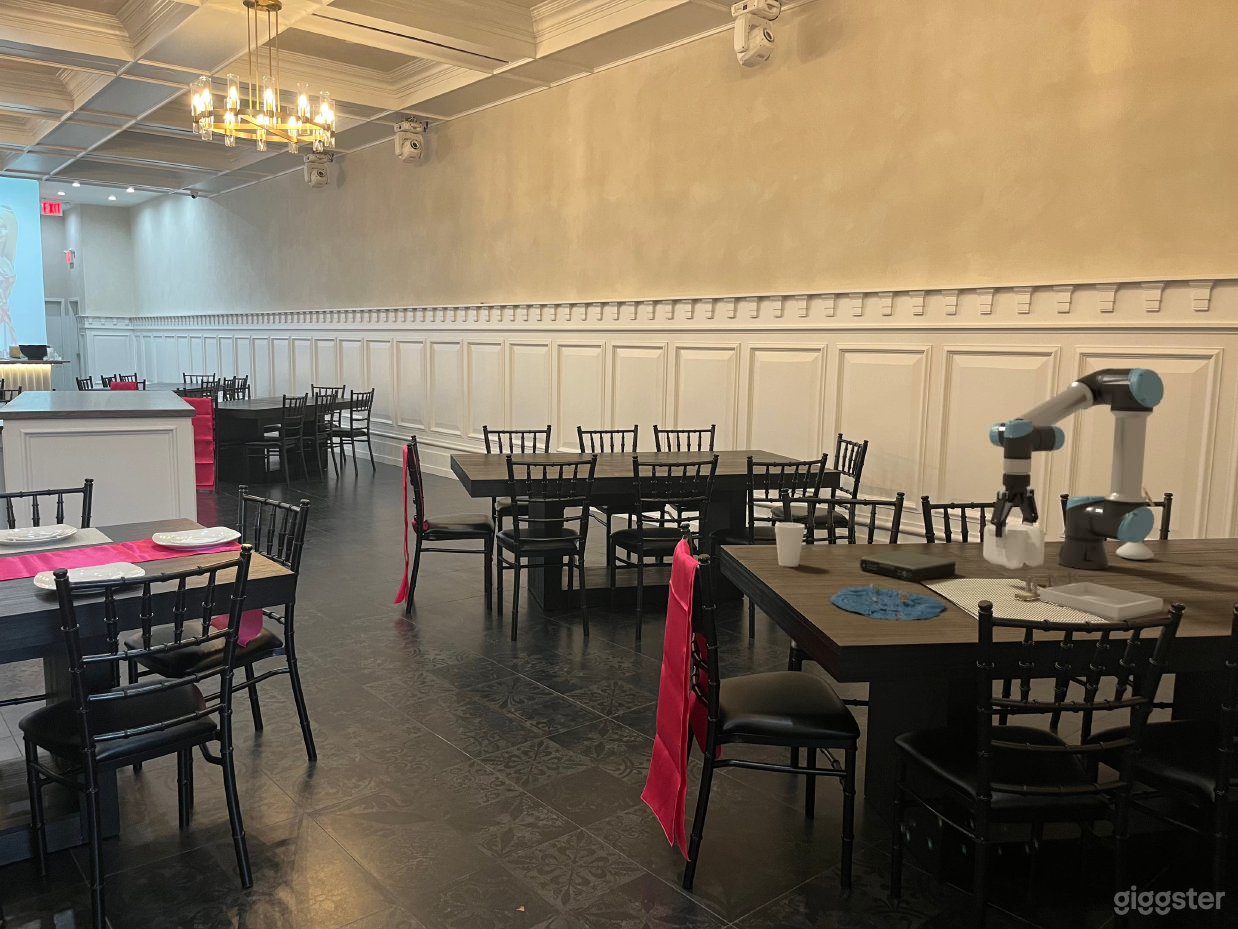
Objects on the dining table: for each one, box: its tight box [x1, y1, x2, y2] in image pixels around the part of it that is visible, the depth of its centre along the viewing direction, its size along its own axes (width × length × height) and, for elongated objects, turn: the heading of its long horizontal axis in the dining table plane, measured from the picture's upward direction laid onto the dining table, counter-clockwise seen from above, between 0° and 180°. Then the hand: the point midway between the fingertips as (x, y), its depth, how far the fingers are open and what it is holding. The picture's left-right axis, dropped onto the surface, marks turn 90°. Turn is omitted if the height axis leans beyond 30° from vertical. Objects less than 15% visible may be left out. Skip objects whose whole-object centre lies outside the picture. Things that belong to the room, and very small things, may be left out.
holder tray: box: [1039, 581, 1164, 622], centre depth 246 cm, size 20×22×4 cm
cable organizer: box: [982, 522, 1046, 570], centre depth 269 cm, size 15×11×12 cm
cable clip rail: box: [1014, 569, 1079, 600], centre depth 258 cm, size 28×3×6 cm, turn 120°
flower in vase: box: [1115, 486, 1156, 561], centre depth 312 cm, size 13×11×25 cm
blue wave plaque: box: [829, 583, 946, 621], centre depth 244 cm, size 30×30×5 cm
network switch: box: [859, 549, 956, 583], centre depth 285 cm, size 23×23×5 cm
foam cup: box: [774, 522, 806, 568], centre depth 294 cm, size 10×9×13 cm
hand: (1013, 546), depth 269 cm, fingers closed on cable organizer, 11 cm apart
